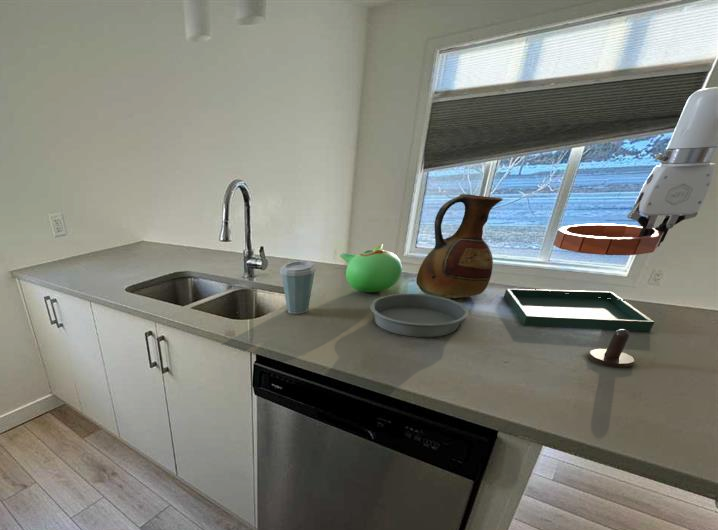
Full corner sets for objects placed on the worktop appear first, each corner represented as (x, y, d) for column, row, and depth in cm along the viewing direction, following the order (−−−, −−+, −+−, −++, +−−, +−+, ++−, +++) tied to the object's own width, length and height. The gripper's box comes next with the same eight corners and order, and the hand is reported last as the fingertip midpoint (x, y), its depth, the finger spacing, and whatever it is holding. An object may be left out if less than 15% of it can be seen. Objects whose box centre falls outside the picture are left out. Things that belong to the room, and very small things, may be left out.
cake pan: (419, 348, 101) (422, 331, 98) (350, 319, 120) (352, 304, 118) (486, 326, 109) (490, 310, 106) (411, 301, 128) (414, 288, 126)
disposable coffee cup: (298, 319, 124) (300, 270, 116) (272, 311, 131) (272, 265, 124) (320, 309, 129) (323, 262, 122) (294, 302, 137) (295, 257, 129)
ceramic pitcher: (496, 304, 121) (527, 195, 106) (424, 305, 125) (444, 200, 110) (470, 284, 138) (494, 188, 123) (407, 286, 141) (423, 193, 126)
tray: (608, 300, 117) (612, 291, 115) (649, 332, 98) (654, 322, 97) (503, 296, 126) (506, 288, 124) (523, 325, 107) (526, 316, 106)
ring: (632, 237, 103) (638, 222, 101) (673, 255, 88) (681, 238, 86) (544, 238, 109) (549, 224, 107) (569, 255, 95) (575, 239, 93)
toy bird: (359, 301, 133) (364, 256, 125) (334, 287, 147) (338, 246, 140) (408, 293, 135) (416, 248, 128) (379, 280, 150) (385, 239, 142)
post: (623, 354, 90) (638, 324, 87) (639, 369, 84) (655, 337, 81) (583, 351, 93) (595, 322, 89) (595, 365, 87) (609, 335, 83)
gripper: (649, 161, 86) (612, 249, 95) (750, 155, 81) (701, 249, 90) (632, 159, 92) (599, 242, 101) (725, 153, 87) (682, 242, 96)
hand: (647, 245), depth 96 cm, fingers closed on ring, 1 cm apart
